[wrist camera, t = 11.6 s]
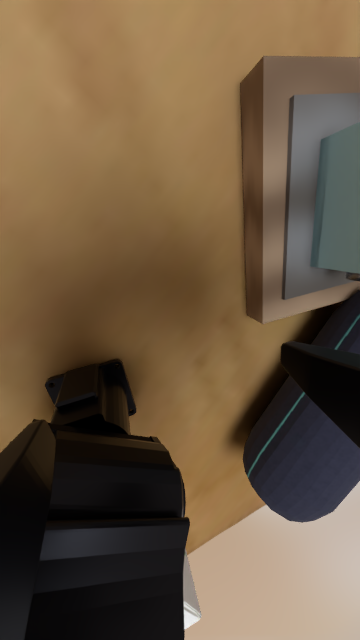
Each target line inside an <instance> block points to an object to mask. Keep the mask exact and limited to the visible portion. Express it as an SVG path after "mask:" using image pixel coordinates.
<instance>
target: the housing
mask: <svg viewBox="0 0 360 640" xmlns="http://www.w3.org/2000/svg"><path fill="white" fill-rule="evenodd" d="M310 266H311V267H318V268H324V269H331V270H338V271H345V272H346V279H348V280H352V281H360V122H358V123H356V124H354V125H352V126H349V127H347V128H345V129H343V130H341V131H338V132H336V133H334V134H332V135H330V136H328V137H325V138H323V139H321V145H320V156H319V168H318V180H317V192H316V203H315V215H314V227H313V239H312V250H311V262H310Z"/></svg>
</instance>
